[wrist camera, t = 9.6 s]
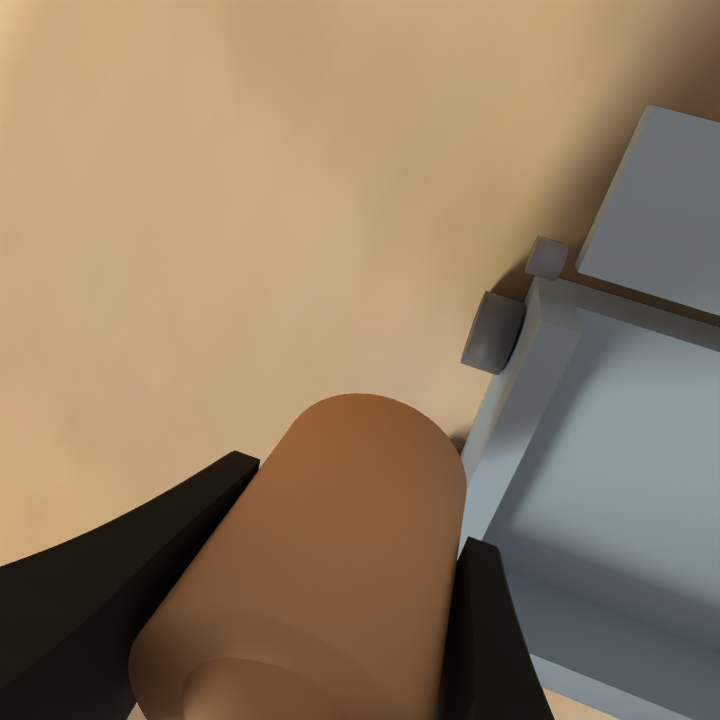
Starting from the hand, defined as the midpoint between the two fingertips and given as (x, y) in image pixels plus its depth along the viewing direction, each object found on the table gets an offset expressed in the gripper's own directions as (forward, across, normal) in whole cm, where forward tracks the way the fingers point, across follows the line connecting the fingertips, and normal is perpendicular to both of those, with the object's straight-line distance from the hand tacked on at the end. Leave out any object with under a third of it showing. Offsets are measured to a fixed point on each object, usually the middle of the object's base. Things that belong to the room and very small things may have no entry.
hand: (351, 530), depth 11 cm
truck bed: (+9, -10, +1) cm, 13 cm away
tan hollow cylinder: (+2, 0, 0) cm, 2 cm away
